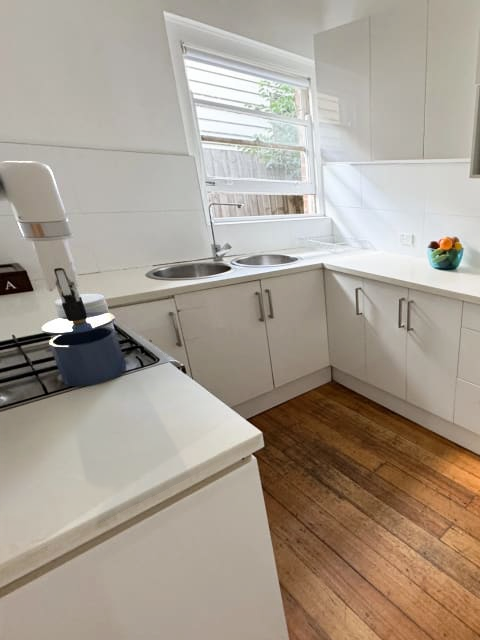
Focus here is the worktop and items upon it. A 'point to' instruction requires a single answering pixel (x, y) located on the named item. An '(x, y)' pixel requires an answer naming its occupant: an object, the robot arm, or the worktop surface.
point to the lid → (78, 324)
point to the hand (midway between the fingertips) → (77, 317)
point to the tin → (88, 356)
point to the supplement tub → (87, 305)
